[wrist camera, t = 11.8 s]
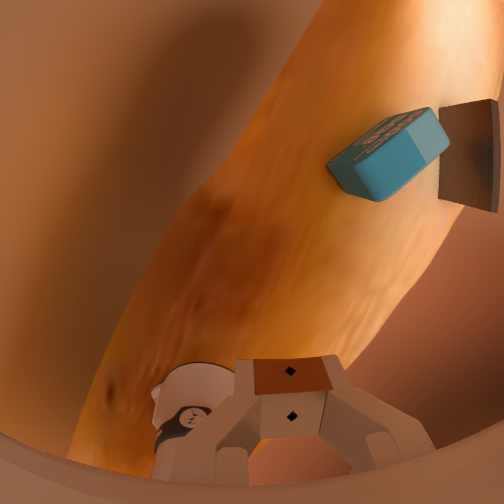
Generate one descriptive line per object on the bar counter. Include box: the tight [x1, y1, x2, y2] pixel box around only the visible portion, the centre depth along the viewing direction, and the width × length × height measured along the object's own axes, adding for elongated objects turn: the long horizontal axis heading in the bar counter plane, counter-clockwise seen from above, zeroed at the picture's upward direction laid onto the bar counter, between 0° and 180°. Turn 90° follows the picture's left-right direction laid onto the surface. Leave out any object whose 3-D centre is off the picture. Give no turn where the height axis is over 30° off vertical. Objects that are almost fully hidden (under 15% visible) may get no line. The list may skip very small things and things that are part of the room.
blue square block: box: [327, 107, 450, 202], centre depth 31 cm, size 12×4×12 cm, turn 129°
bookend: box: [438, 99, 501, 213], centre depth 31 cm, size 14×4×12 cm, turn 0°
